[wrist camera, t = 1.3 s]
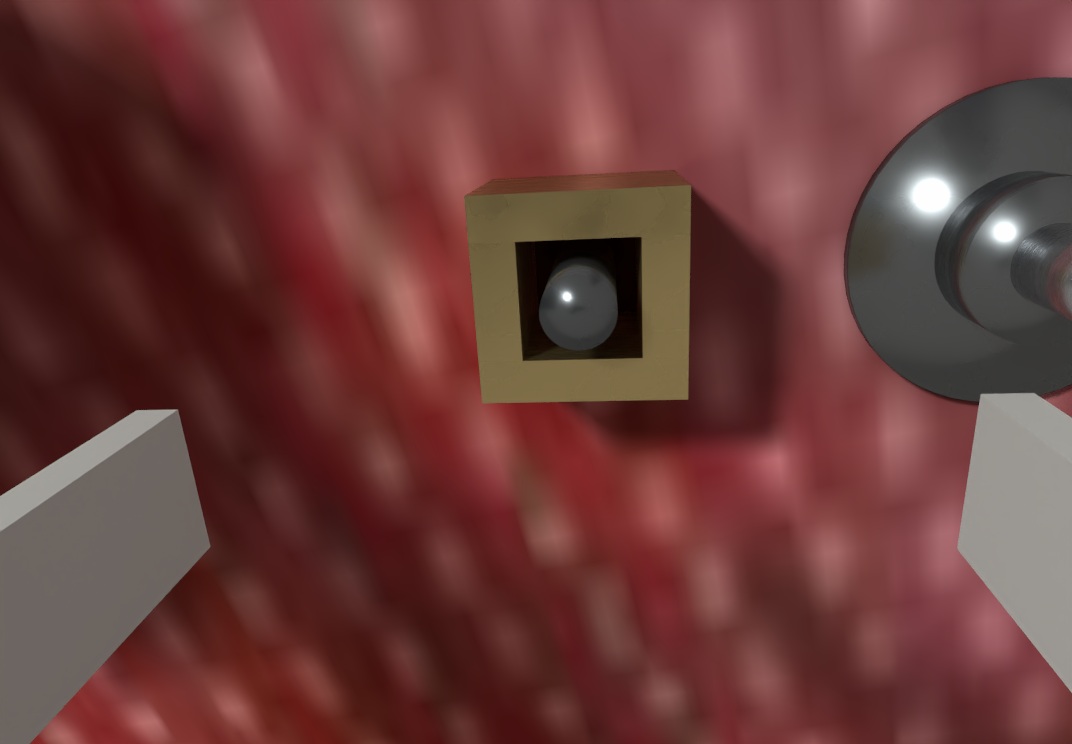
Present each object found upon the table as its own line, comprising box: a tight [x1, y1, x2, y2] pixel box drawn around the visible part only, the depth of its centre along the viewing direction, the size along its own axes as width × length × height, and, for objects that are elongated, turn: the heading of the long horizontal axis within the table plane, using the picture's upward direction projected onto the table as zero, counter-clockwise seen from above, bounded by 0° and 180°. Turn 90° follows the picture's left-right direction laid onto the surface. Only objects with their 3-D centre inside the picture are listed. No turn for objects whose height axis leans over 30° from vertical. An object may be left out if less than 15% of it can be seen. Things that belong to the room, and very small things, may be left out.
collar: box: [464, 170, 691, 403], centre depth 26 cm, size 7×7×6 cm
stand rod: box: [539, 238, 618, 351], centre depth 26 cm, size 2×2×8 cm
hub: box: [844, 78, 1072, 402], centre depth 24 cm, size 12×12×7 cm
